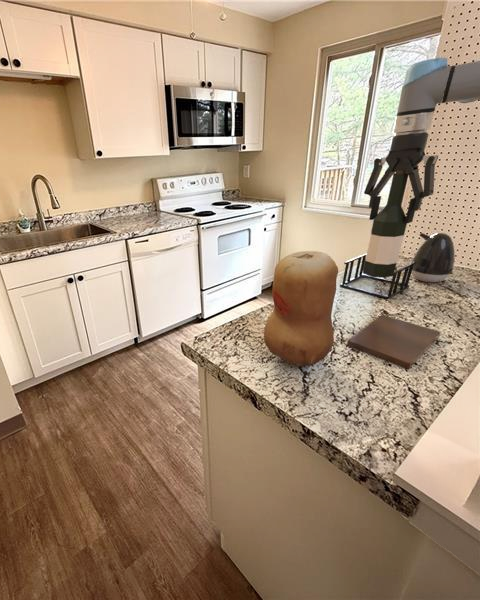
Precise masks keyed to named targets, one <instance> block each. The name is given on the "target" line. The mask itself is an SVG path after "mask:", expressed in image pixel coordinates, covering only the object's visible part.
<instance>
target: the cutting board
mask: <svg viewBox="0 0 480 600" xmlns="http://www.w3.org/2000/svg"><path fill="white" fill-rule="evenodd" d="M441 333H442V331H439V330H435V329H433V328H429V327H425V326H422V325H418V324H415V323H412V322H408V321H405V320H401V319H398V318H395V317H390V316H387V315H384V314H380V315H379V316H378V317H376V318H375V319H374V320H372V321H371V322H370V323H368V325H366V326H365V327H363V328H362V329H360V330H359V331H358V332H357V333H356V334H354V335H353V336H351V337H350V338H349V339H347V342H346V347H349V348H352V349H354V350H356V351H358V352H362V353H364V354H368V355H370V356H373V357H375V358H378V359H380V360H383V361H386V362H388V363H391V364H393V365H396V366H399V367H401V368H404V369H406V370H410V369H411V368H412V366H413V365H414V364H415V363H416V362H417V361H419V359H420V358H421V357H422V356H423V355H424V354H425V353H426V352H427V351H428V350H429V349H430V348H431V347H432V345H433V344H434V343H435V342H436V341H437V340H438V339H439V338H440V336H441Z"/></svg>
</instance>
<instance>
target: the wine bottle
mask: <svg viewBox="0 0 480 600" xmlns="http://www.w3.org/2000/svg"><path fill="white" fill-rule="evenodd" d="M391 178H392V179H391V183H390V188H389V192H388V197H387V202H386V204H385V205H384V207H382V209H381V210H379V211H378V214H377V215H376V216H375V217H374V219H373V220H372V225H371V230H370V235H369V239H368V244H367V249H366V253H365V254H366V258H365V263H364V267H363V272H362V274H366V275H369V276H372V277H379V278H383V279H386V278H390V277H393V275H392V272H394V271H396V268H397V264H398V260H399V257H400V256H399V255H400V252H401V248H402V245H403V241H404V237H405V234H406V230H407V225H408V223H405V219H406V213H405V211H404V209H403V206H402V203H403V202H402V201H403V198H404V197H403V196H404V194H405V190H406V185H407V182H408V178H409V175H408V174H407V172H402V171H397V172H395V173H394V174H393V175H392V177H391Z"/></svg>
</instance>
